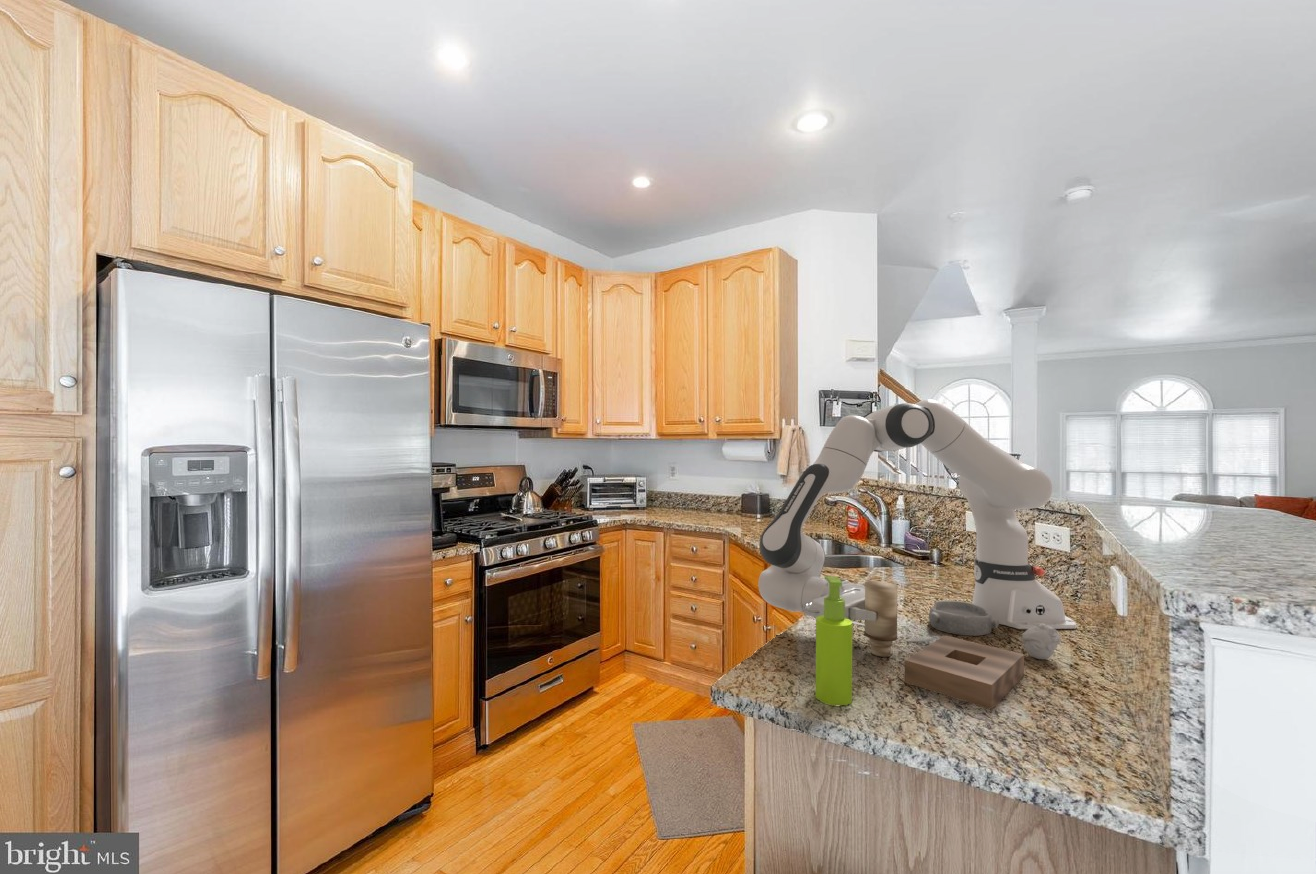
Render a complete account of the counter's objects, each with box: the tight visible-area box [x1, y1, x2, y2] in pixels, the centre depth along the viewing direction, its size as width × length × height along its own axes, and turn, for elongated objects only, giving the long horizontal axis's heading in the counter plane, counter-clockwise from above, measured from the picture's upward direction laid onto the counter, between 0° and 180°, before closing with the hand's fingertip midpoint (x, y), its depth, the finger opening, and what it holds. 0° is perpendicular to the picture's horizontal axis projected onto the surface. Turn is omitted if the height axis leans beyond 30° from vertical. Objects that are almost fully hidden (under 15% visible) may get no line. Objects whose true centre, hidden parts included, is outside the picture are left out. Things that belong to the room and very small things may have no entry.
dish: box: [928, 600, 1000, 637], centre depth 131 cm, size 14×14×5 cm
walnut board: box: [904, 634, 1025, 710], centre depth 102 cm, size 20×14×4 cm
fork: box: [852, 620, 936, 643], centre depth 128 cm, size 3×24×2 cm, turn 37°
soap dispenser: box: [814, 575, 854, 706], centre depth 94 cm, size 6×7×20 cm
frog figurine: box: [1021, 623, 1061, 660], centre depth 112 cm, size 6×7×7 cm
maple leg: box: [863, 580, 898, 658], centre depth 113 cm, size 6×6×14 cm
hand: (885, 612), depth 113 cm, fingers closed on maple leg, 6 cm apart
